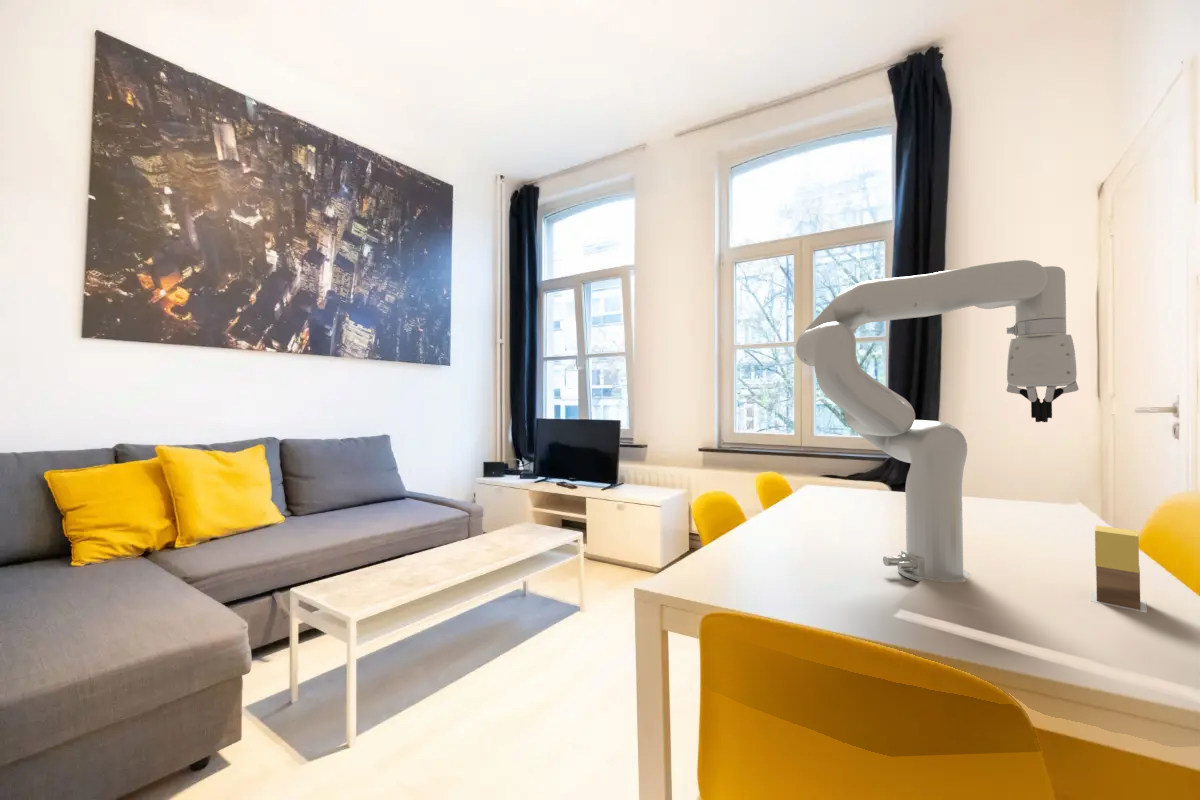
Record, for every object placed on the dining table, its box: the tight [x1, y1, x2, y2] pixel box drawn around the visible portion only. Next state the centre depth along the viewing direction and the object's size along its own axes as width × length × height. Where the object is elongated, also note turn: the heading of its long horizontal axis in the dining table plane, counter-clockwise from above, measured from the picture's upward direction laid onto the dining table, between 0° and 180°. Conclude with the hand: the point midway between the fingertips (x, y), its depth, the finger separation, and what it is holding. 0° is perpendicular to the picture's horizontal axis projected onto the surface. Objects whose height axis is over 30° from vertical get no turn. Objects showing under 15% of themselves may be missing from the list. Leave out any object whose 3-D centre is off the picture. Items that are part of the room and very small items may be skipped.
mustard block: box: [1094, 525, 1140, 573], centre depth 83 cm, size 5×5×6 cm
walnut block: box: [1095, 565, 1141, 610], centre depth 83 cm, size 5×5×6 cm
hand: (1041, 421), depth 98 cm, fingers closed
